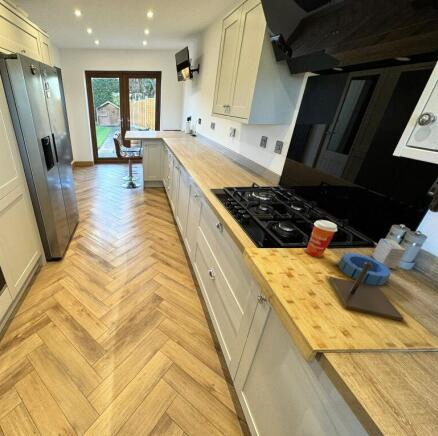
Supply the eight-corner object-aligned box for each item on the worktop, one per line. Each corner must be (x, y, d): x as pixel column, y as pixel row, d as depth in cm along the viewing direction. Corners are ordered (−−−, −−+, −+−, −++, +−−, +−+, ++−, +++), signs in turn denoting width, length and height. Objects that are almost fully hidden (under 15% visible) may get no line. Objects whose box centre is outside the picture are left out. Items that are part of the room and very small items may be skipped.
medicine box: (395, 269, 90) (407, 250, 86) (381, 266, 91) (392, 248, 87) (384, 258, 97) (394, 240, 93) (370, 255, 98) (380, 237, 94)
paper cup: (299, 249, 100) (310, 220, 94) (312, 247, 102) (324, 218, 96) (315, 260, 93) (329, 229, 87) (329, 257, 96) (343, 227, 89)
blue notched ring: (373, 265, 92) (377, 257, 90) (394, 289, 80) (400, 280, 78) (332, 258, 95) (336, 250, 93) (347, 279, 83) (352, 270, 82)
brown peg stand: (376, 288, 80) (395, 256, 74) (402, 321, 68) (428, 286, 62) (328, 279, 83) (344, 247, 77) (345, 308, 71) (364, 273, 65)
